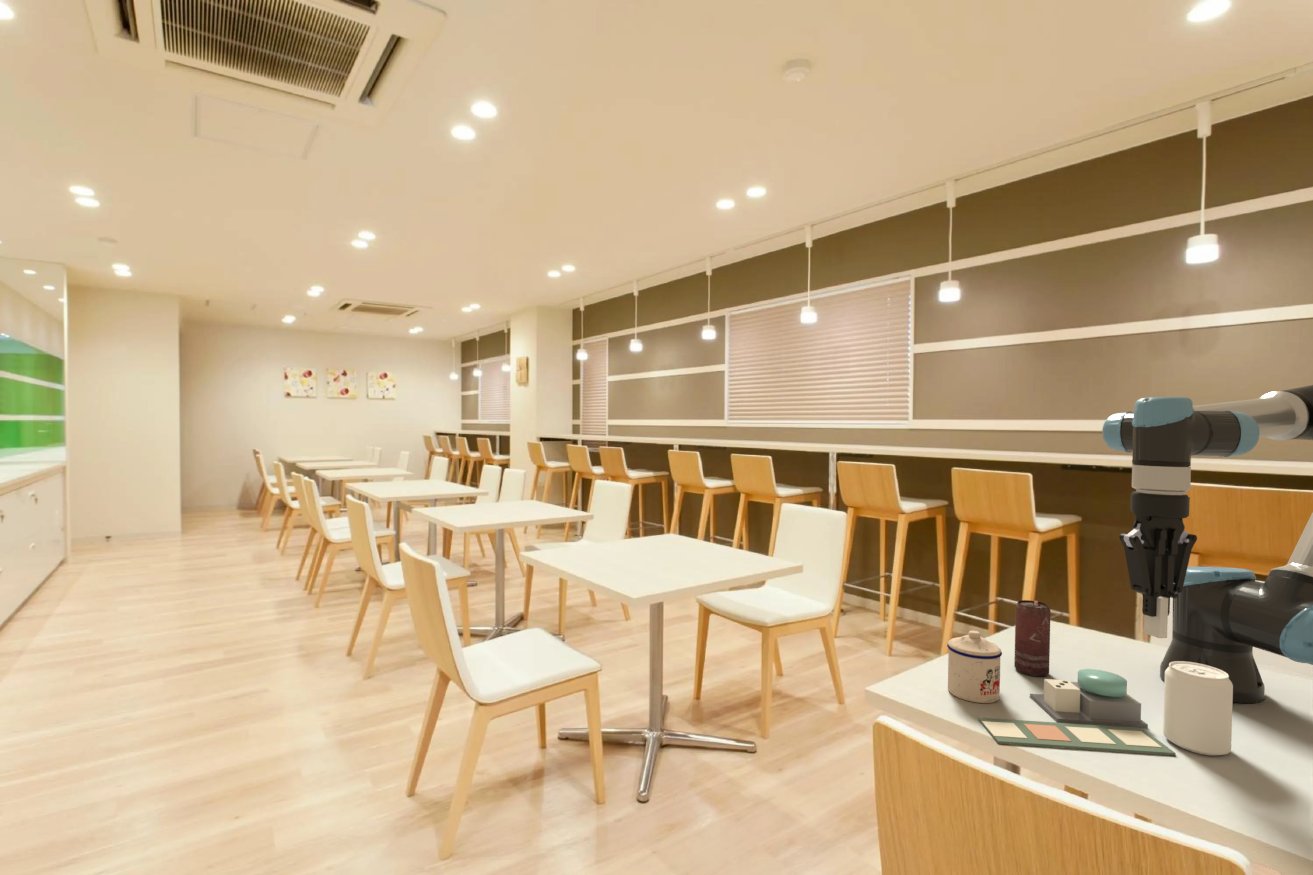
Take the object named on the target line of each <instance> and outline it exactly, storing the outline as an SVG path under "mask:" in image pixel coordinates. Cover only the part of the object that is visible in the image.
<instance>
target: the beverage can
mask: <svg viewBox="0 0 1313 875" xmlns="http://www.w3.org/2000/svg"><path fill="white" fill-rule="evenodd" d="M1163 689H1164V690H1163V691H1164V693H1163V695H1164V696H1163V725H1162V727H1163V728H1162V729H1163V730H1162V732H1163V736H1164V737H1165V738H1166V739H1167V740H1168V741H1170V742H1172V743H1173V744H1174V745H1176V746H1177V747H1180V748H1182V749H1184V750H1186V751H1188V752H1191V753H1194V754H1195V753H1196V754H1200V755H1204V756H1224V755H1228V754H1230V753H1231V751H1232V735H1233V734H1232V731H1233V730H1232V729H1233V703H1234V702H1233V684H1232V682H1231V681H1230V680H1229V675H1228V674H1227V673H1226V672H1224V671H1222V670H1220V669H1217V668H1215V667H1211V666H1208V665H1204V664H1199V663H1194V662H1186V661H1174V662H1170V663H1169V667H1168V668H1167V669H1166V670H1165V681H1164V688H1163Z"/></svg>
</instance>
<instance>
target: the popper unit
mask: <svg viewBox="0 0 1313 875" xmlns="http://www.w3.org/2000/svg"><path fill="white" fill-rule="evenodd" d="M1029 697H1030V698H1031V699H1032V700H1033V702H1035V703H1036V704H1037V705H1038V706H1039V707H1040V708H1041V709H1042V710H1044V711H1045V712H1046V714H1048V715H1049V716H1050V717H1051V719H1053V721H1055V722H1056V723H1072V724H1088V725H1104V726H1119V727H1135V728H1143V729H1149V725H1148V723H1146V722H1145V720H1142V703H1141V702H1139V701H1138V700H1136V699H1135V698H1134V697H1132V696H1131V695H1129V694H1128V693H1127V694H1126V695H1125V696H1122V697H1111V696H1097V695H1096V694H1094V693H1092V692H1089V691H1087V690H1085V689H1083V688H1081V687H1080V686H1079V685H1078V681H1070V680H1068V679H1067V680H1066V679H1052V678H1044V680H1043V694H1041V693H1040V694H1039V693H1030V694H1029Z"/></svg>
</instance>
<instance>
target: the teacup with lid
mask: <svg viewBox="0 0 1313 875" xmlns="http://www.w3.org/2000/svg"><path fill="white" fill-rule="evenodd" d="M946 647H947V648H948V651H947V652H948V657H947V660H948V661H947V663H948V664H947V689H948V691H949V692H950V694H951V695H953V696H954V697H956V698H959V699H961V700H963V701H967V702H970V703H977V704H992V703H995V702H997V701H999V700H1000V691H1001V690H1000V689H1001V688H1000V686H1001V685H1000V684H1001V657H1002V655H1003V652H1002V649H1001V647H999V645H997V644H996V643H994V642H991V641H988V640H987V639H986V638H984V637H982V636H981V633H980V632H979V630H978V631H977V630H969V631H968V633H967V634H965V635H962V636H959V637H953V638H951V639H949V640H948V642H947V646H946Z"/></svg>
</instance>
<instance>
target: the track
mask: <svg viewBox="0 0 1313 875" xmlns="http://www.w3.org/2000/svg"><path fill="white" fill-rule="evenodd" d="M977 720H978V721H979V723H980V724H981V725H982V727H984V729H985V730H986V731H987V732H988V733H989V735H990V736H991V737H992V738H993V739H994V741H995V742H996V743H997V744H999V745H1014V746H1030V747H1041V748H1044V747H1045V748H1059V749H1070V750H1071V749H1072V750H1088V751H1102V752H1117V753H1131V754H1132V753H1133V754H1147V755H1158V756H1159V755H1161V756H1172V757H1173V756H1175V757H1176V755H1177V754H1176V752H1175V751H1173V750H1172V749H1171V748H1170V747H1168V746H1166V745H1165V744H1164V743H1163V742H1162V741H1160V740H1159V739H1157V738H1156V737H1155V736H1154V735H1152V734H1151V733H1149V732H1148V731H1146V730H1145V728H1139V727H1123V726H1107V725H1092V724H1076V723H1060V722H1057V721H1055V722H1054V721H1039V720H1023V719H1010V718H1009V719H1007V718H1005V719H1004V718H992V717H991V718H990V717H978V719H977Z"/></svg>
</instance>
